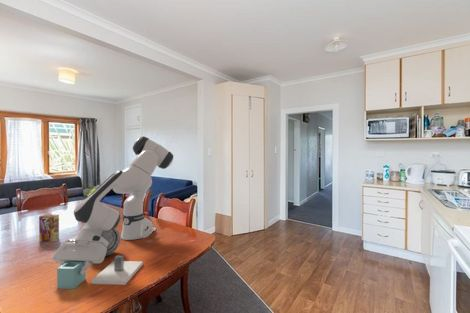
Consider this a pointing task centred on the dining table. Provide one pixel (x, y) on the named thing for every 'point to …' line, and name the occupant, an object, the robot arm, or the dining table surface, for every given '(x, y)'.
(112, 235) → the decorative orb
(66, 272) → the teal square hollow box
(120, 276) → the board
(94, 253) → the robot arm
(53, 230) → the candy box
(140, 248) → the dining table surface
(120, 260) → the grey rectangular block
